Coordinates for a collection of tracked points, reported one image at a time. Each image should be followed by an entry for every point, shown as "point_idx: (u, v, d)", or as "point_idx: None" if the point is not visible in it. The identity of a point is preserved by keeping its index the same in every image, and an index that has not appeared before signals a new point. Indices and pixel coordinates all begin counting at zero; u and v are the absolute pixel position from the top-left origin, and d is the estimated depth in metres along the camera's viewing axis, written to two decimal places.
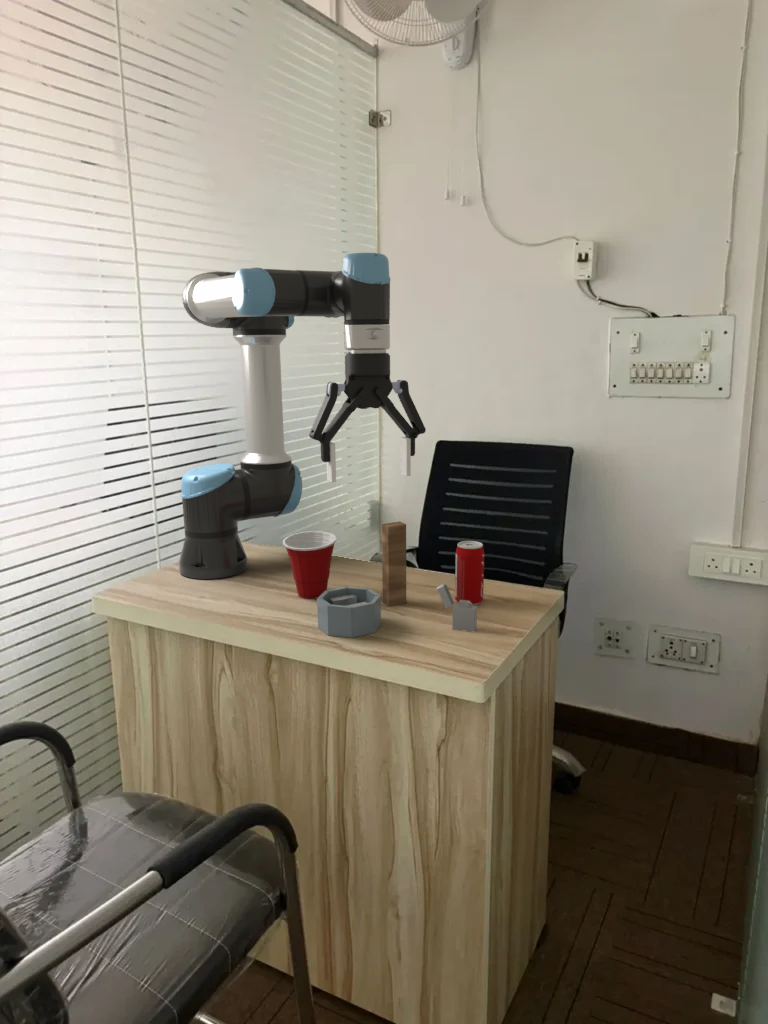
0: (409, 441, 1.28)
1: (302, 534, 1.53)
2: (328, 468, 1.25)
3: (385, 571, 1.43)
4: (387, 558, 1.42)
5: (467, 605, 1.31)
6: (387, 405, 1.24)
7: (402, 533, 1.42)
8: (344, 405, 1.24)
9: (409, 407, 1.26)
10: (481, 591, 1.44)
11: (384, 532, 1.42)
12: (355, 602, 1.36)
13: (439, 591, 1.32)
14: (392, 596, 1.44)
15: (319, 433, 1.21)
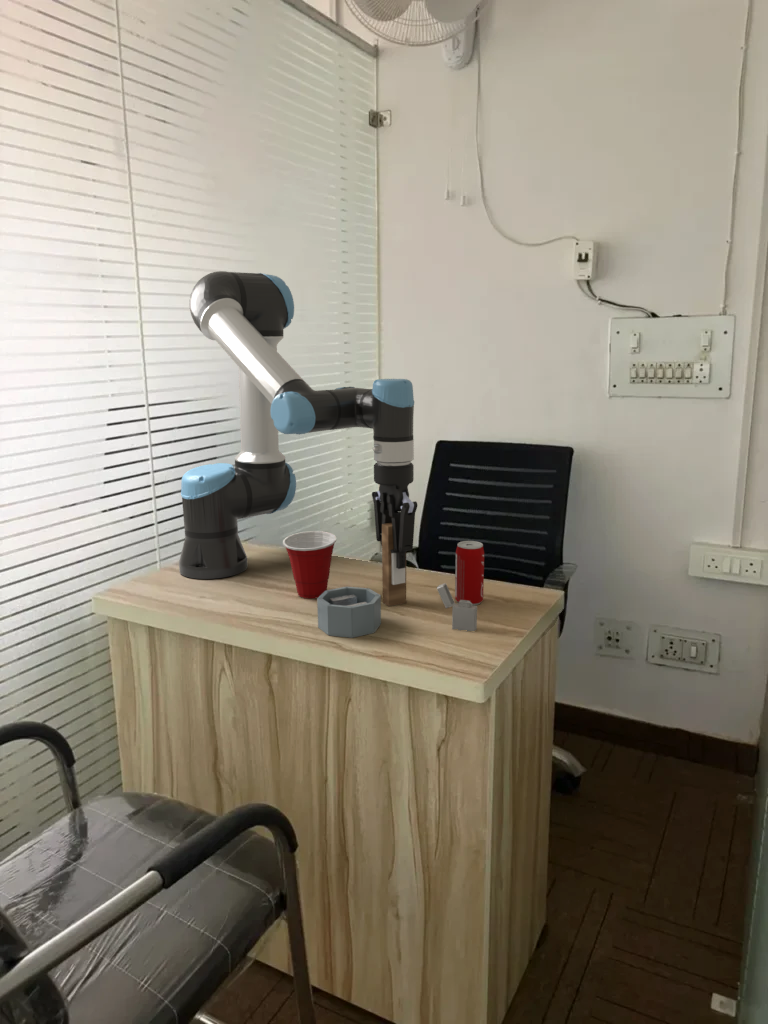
0: (392, 554, 1.41)
1: (302, 534, 1.53)
2: None
3: (385, 571, 1.43)
4: (387, 558, 1.42)
5: (467, 605, 1.31)
6: (389, 512, 1.40)
7: None
8: None
9: (400, 524, 1.38)
10: (481, 591, 1.44)
11: (384, 532, 1.42)
12: (355, 602, 1.36)
13: (439, 591, 1.32)
14: (392, 596, 1.44)
15: (378, 535, 1.46)
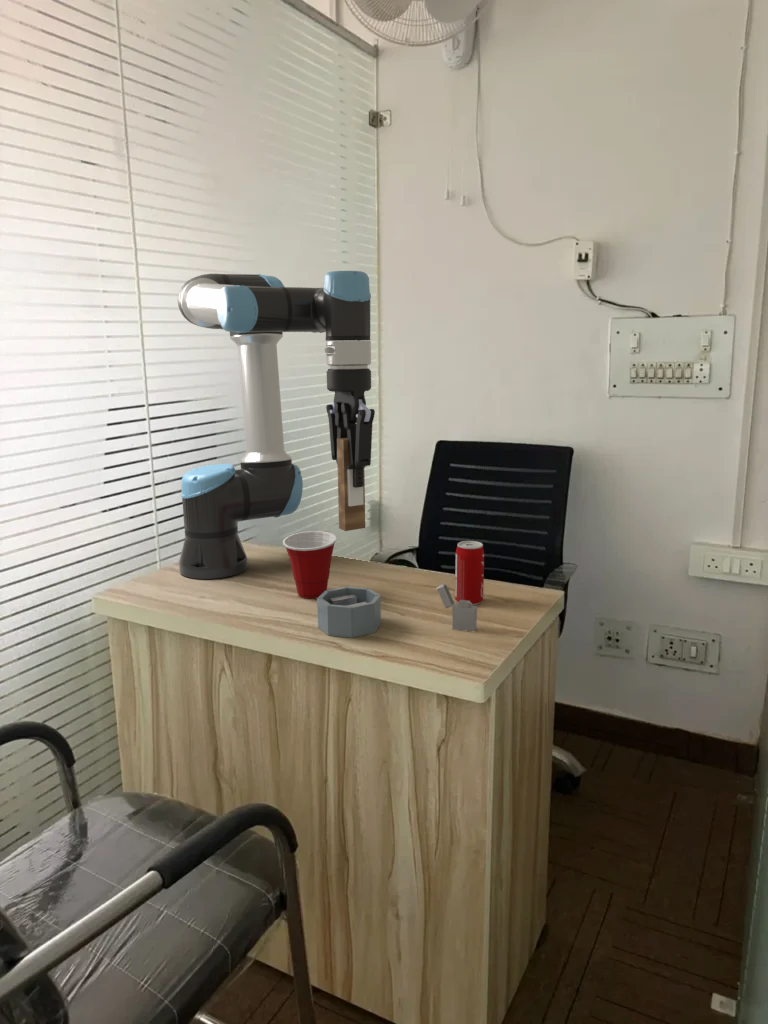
0: (348, 471, 1.27)
1: (302, 534, 1.53)
2: None
3: (341, 491, 1.29)
4: (343, 476, 1.27)
5: (467, 605, 1.31)
6: (344, 423, 1.25)
7: None
8: None
9: (356, 435, 1.23)
10: (481, 591, 1.44)
11: (339, 447, 1.27)
12: (355, 602, 1.36)
13: (439, 591, 1.32)
14: (349, 519, 1.29)
15: (333, 453, 1.31)
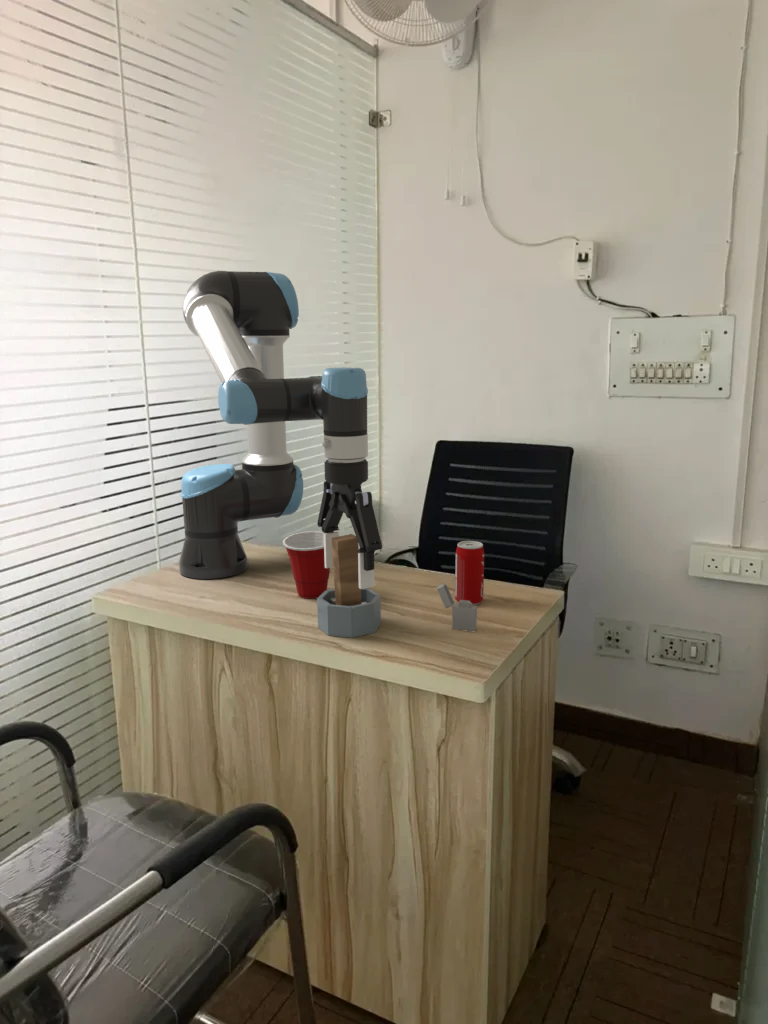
0: (359, 554, 1.25)
1: (302, 534, 1.53)
2: None
3: (337, 589, 1.32)
4: (338, 574, 1.30)
5: (467, 605, 1.31)
6: (345, 513, 1.26)
7: (353, 547, 1.30)
8: None
9: (360, 521, 1.23)
10: (481, 591, 1.44)
11: (334, 547, 1.30)
12: None
13: (439, 591, 1.32)
14: None
15: (319, 522, 1.38)
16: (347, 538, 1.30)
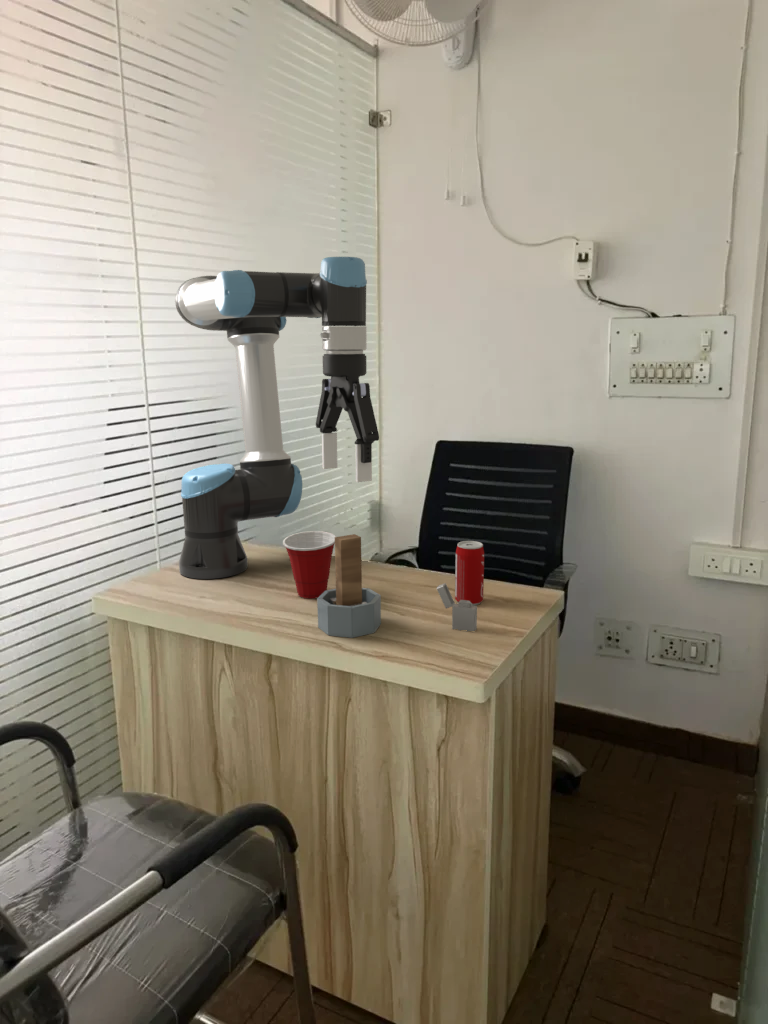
0: (356, 446, 1.24)
1: (302, 534, 1.53)
2: None
3: (339, 588, 1.32)
4: (341, 574, 1.30)
5: (467, 605, 1.31)
6: (343, 406, 1.26)
7: (356, 547, 1.31)
8: None
9: (357, 411, 1.22)
10: (481, 591, 1.44)
11: (337, 546, 1.30)
12: None
13: (439, 591, 1.32)
14: None
15: (317, 422, 1.37)
16: (350, 538, 1.30)
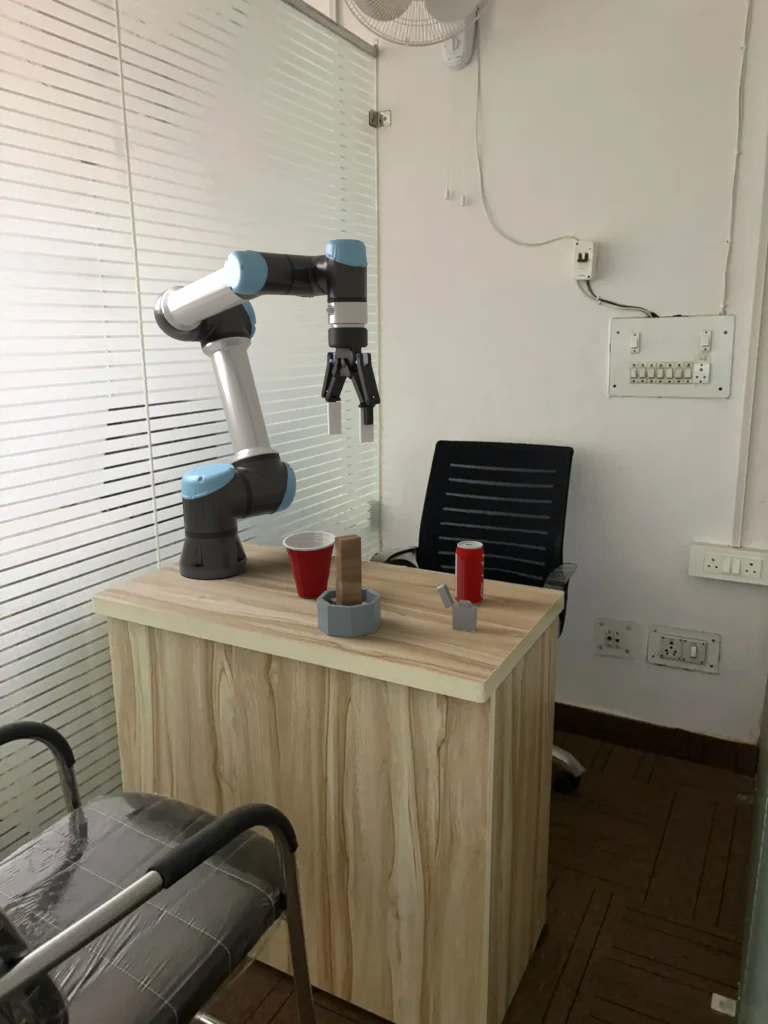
0: (360, 410, 1.37)
1: (302, 534, 1.53)
2: None
3: (339, 588, 1.32)
4: (341, 574, 1.30)
5: (467, 605, 1.31)
6: (347, 374, 1.39)
7: (356, 547, 1.31)
8: None
9: (360, 378, 1.36)
10: (481, 591, 1.44)
11: (337, 546, 1.30)
12: None
13: (439, 591, 1.32)
14: None
15: (323, 392, 1.50)
16: (350, 538, 1.30)
